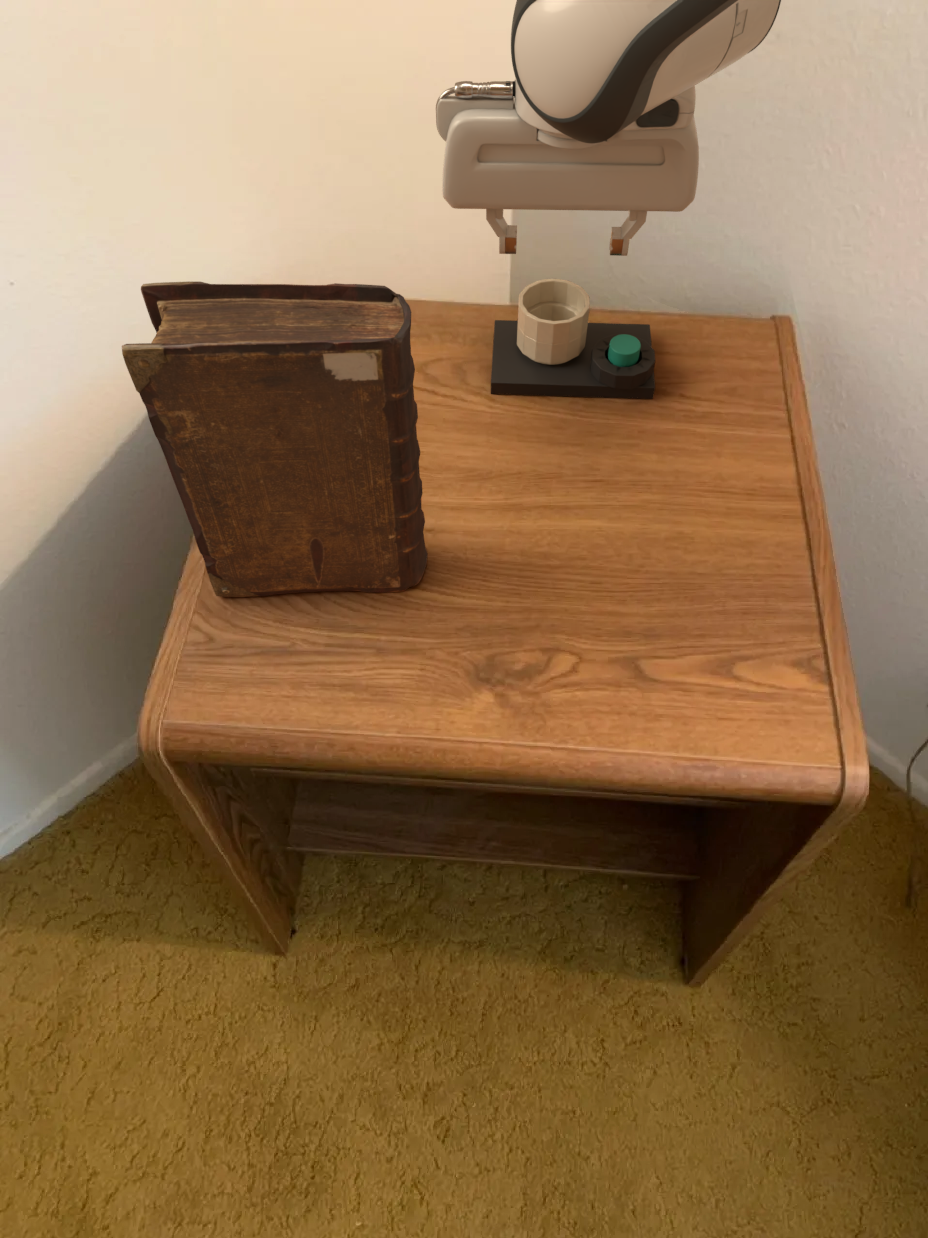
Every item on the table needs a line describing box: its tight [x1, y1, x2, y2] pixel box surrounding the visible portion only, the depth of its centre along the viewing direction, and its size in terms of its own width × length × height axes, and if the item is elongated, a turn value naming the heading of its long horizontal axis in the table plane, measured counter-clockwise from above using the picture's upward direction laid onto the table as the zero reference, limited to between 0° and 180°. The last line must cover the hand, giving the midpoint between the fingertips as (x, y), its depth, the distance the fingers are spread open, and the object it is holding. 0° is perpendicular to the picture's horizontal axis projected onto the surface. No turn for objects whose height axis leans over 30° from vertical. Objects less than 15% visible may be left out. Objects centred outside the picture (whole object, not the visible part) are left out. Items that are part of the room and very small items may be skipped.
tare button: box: [608, 334, 641, 367], centre depth 84 cm, size 3×3×2 cm
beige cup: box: [517, 277, 591, 365], centre depth 85 cm, size 6×6×5 cm
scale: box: [490, 319, 656, 400], centre depth 87 cm, size 15×9×3 cm, turn 87°
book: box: [121, 281, 429, 598], centre depth 64 cm, size 17×7×25 cm, turn 85°
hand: (562, 250), depth 79 cm, fingers open, 8 cm apart
